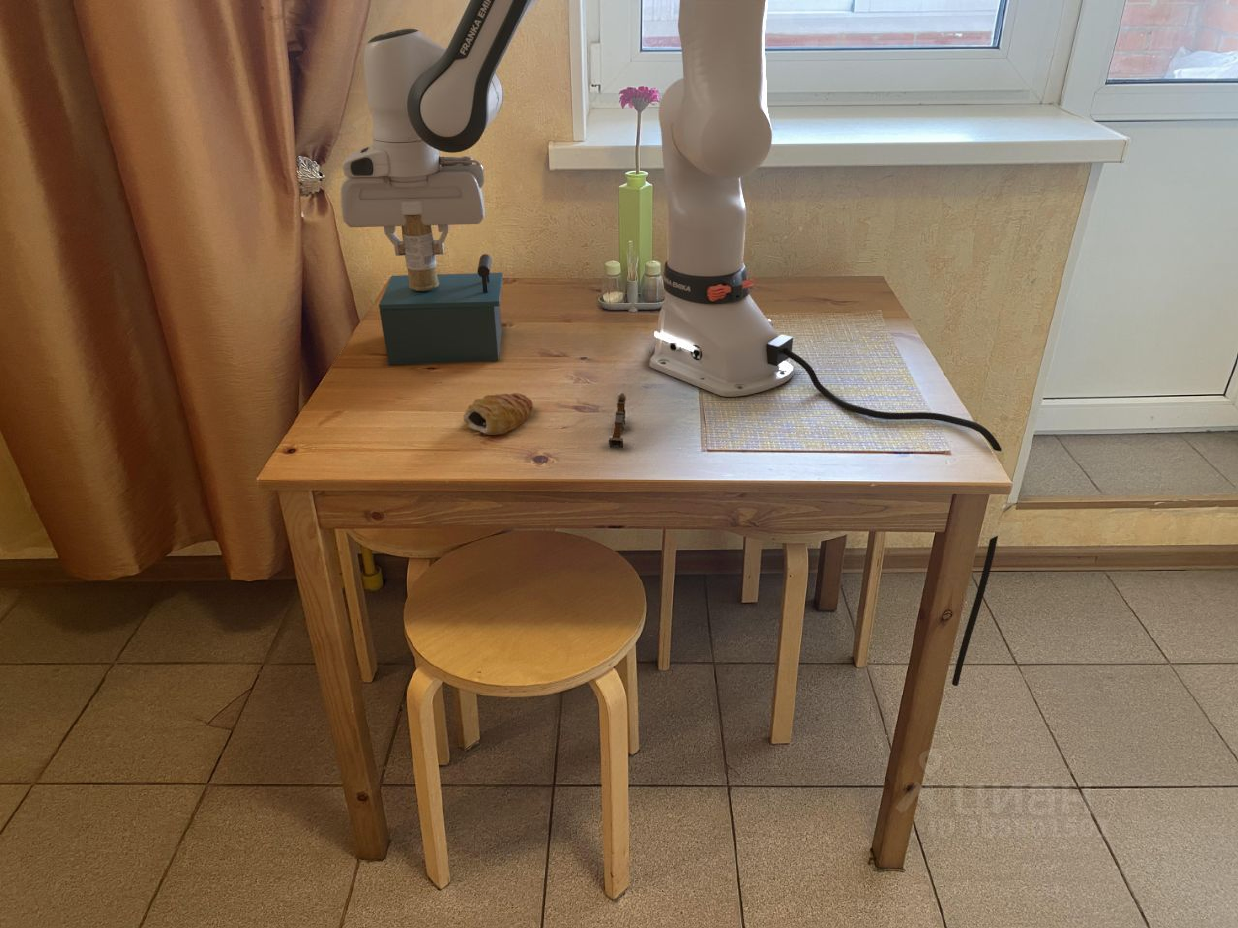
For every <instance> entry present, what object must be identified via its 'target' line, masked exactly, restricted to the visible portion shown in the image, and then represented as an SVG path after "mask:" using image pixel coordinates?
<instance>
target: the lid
mask: <svg viewBox="0 0 1238 928" xmlns="http://www.w3.org/2000/svg"><path fill="white" fill-rule="evenodd" d="M491 267H492V257H491V255H489V254H487V253H484V254H482V255H481V256H480V257H479V260H478V265H477V272H476V273H473V272H472V273H445V274H444V273H441V274H438V273H437V278H438V281H439V286H438V287H436V288H435V289H433V290H428V291H416V290H413V289H411V288H410V287H409V275H408V274H402V275H401V274H400V275H391V276H390V278H389V281H388V282H387V286H386V288H385V290H384V292H383V294H382V297H381V300H380V302H379V304H378V308H379V311H380V310H387V309H422V308H457V307H491V306H500V307H501V296H502V288H503V281H504V280H503V278H504V274H503V272H491Z"/></svg>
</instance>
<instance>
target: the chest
mask: <svg viewBox="0 0 1238 928" xmlns="http://www.w3.org/2000/svg"><path fill="white" fill-rule="evenodd" d="M379 314H380V320H381V327H382V334H383V340H384V346H385V352H386V360H387V365H388V366H399V365H400V366H401V365H402V366H403V365H427V364H429V365H430V364H454V363H455V364H456V363H460V364H461V363H483V362H485V363H487V362H500V361H499V360H500V351H501V343H502V342H501V341H502V333H503V326H502V325H503V324H502V313H501V305H500V306H491V307H457V308H422V309H387V310H380V309H379Z"/></svg>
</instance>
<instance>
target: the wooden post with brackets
mask: <svg viewBox="0 0 1238 928" xmlns="http://www.w3.org/2000/svg"><path fill="white" fill-rule="evenodd" d="M617 396H618V398H617V402H616V406H617V408H616V409H617V410H616V411H615V414H614V416H615V418H614V429H613V434H612V437H609V438H608V447H609V449H614V450H624V438H623V437H622V432H624V431H625V425H626V409H625V407H626V406H625V405H626V400H627V397H626V394H625V393H624V392H621V393H620V394H617Z"/></svg>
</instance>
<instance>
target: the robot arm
mask: <svg viewBox="0 0 1238 928" xmlns="http://www.w3.org/2000/svg"><path fill="white" fill-rule="evenodd" d="M537 2H539V0H469V2H468V5H467V6H466V8H465V10H464V13H463V15H462V17H461V19H460V21H459V23H458V25H457V27H456V29H455V31H454V33H453V36H452V37H451V40H450V42H449V44H448V46H447V47H445V46H443V45H441V44H438V43H437V42H435V41H433V40H431V39H430V38H429V37H427V36H426V35H425V34H424V33H423V32H421V31H420V30H419V29H415V28H402V29H396V30H393V31H389V32H386V33H382V34H378V35H376V36H374V37H372V38H371V39H370V40H368V42H367V43H366V45H365V47H364V51H363V74H364V85H365V93H366V101H367V106H368V109H369V111H370V114H371V116H372V133H371V135H372V145H369V146H366V147H363V148H361V149H358V150H355V151H353V152H351V153H350V154H349V155H348V156H347V157H346V158H345V159H344V160H343V162H342V171H343V174H344V175H345V176H346V177H345V178H344V180H343V181H342V183H341V187H340V207H341V209H340V210H341V216H342V220H343V222H344V223H345V224H346V225H347V226H348V227H349V228H376V227H377V228H378V227H381V228H382V227H383V231H384V236H386V238H387V239H388V240H389V242H390V243H391V244H392V245H393V246H394V247H393V248H394V254H395V255H394V256H396V257H400V256H405V250H404V249H405V248H404V244H403V240H401V239H400V238H399V237H398V236H397V234H396V230H397V227H401V226H405V225H406V218H405V217H404V216H405V215H404V214H402V208H401V203H402V202H405V201H420V202H421V204H422V212H423V213H422V214H420V216H422V217H421V222H422V224H423V225H431V226H437V229H438V232H439V233H441V234H440V237H439V239H433V241H434V242H433V243H432V246H433V249H434V250H433V254H434V255H435V256H436V255H440V256H441V255H444V254H445V240H446V238H447V235H448V234H449V231H450V226H452V225H453V226H454V225H479V224H481V223H482V222H483V220H484V219H485V217H486V205H485V200H484V195H483V189H482V187H483V186H484V184H485V173H484V167H483V165H482V164H481V162H479V161H478V160H476V159H473V157H471V156H461V157H457V156H440V152H444V153H448V154H454V153H462V152H465V151H467V150H468V149H470V148H472V147H474V146H475V145H476V144H477V143H478V141H479V140H480V139H481V138H482V136H483V134H484V132H485V131H486V129H487V128H489V126H490V125H491V124H492V123H493V121H494V120H495V119H496V118H497V116H498V114H499V112H500V110H501V109H502V105H503V102H504V101H503V100H504V92H503V91H504V90H503V87H502V83H501V80H500V78H499V76H498V74H497V70H498V69H499V67H500V65H501V63H502V61H503V59H504V57H505V55H506V53H507V51H508V49H509V47H510V45H511V43H512V42H513V41H512V40H513V39H514V37H515V35H516V33H517V31H518V29H519V27H520V25H521V24H522V22H523V20H524V19H525V17H526V16H527V14H528V13H529V12H530V10H531V9H532V8H533V7H534V6H535V4H537ZM768 2H769V0H679V7H678V18H677V19H678V20H677V30H678V36H679V40H680V48H681V58H682V60H681V61H682V78H680V79H678V80H676V81H674V82H673V83H672V84H670V86H668V87H667V89H666V90H665V91H664V93H663V95H662V96H661V99H660V102H659V106H658V122H659V127H660V132H661V134H660V135H661V150H662V151H661V152H662V162H663V164H662V165H663V175H664V182H665V192H666V199H667V200H666V201H667V251H666V252H667V253H666V254H667V256H666V257H667V258H666V261H665V263H664V264H663V267H664V268H663V272H662V279H663V289H664V291H665V294H664V298H663V302H662V305H661V307H660V310H659V314H658V323H657V329H656V331H654V337H655V347H654V350H653V352H654V353H653V354H652V355H651V357H650V358H649V367H650V369H653V370H656V371H658V372H660V373H663V374H666V375H669V376H671V377H673V378H675V379H678V380H681V381H683V382H685V383H688V384H691V385H693V386H695V387H698V388H700V389H703V390H705V391H707V392H710V393H711V394H715V395H718V396H721V397H725V398H726V397H727V398H729V397H731V398H733V397H743V396H744V397H745V396H750V395H754V394H758V393H761V392H765V391H768V390H771V389H774V388H776V387H779V386H780V385H783V384H785V383H787V382H788V381H789V380H791V379H792V378H793V376H794V375H795V367H794V366H793V365H792V364H790V363H789V362H788V361H786V360H788V359H791V360H793V362H794V363H797V364H798V365H799V366H800V367H801V368H803V370H805V371H806V373H807V375H808V376H809V378H810V380H811V383H812V384H813V386H814V387H815V389H816V390H817V391H818V392H819V393H821V394H822V395H823V396H824V397H825V398H827V399H828V400H830V401H832V402H833V403H835V404H836V405H837V406H839V407H840V408H842V409H844V410H847V411H849V412H853V413H856V414H860V415H864V416H866V417H867V416H868V417H871V418H875V419H882V420H898V421H899V420H932V421H938V422H939V421H940V422H945V423H949V424H952V425H956V426H961V427H965V428H969V429H972V430H973V431H975V432H977V433H979V434H981V436H983V438H985V440H986V441H987V442H988V443H989V445H990V446H991V448H992V450H994V451H995V452H1002V451H1003V449H1002V447H1001V445H1000V443H999V442H998V440H997V439H996V437H995V436H994V435H993V434H992V432H990V431H989V430H988V429H987V428H986V427H984V426H983V425H981V424H980V423H977V422H976V421H974V420H973V421H972V420H969V419H965V418H961V417H956V416H953V415H949V414H944V413H938V412H927V411H914V412H913V411H912V412H890V411H889V412H886V411H880V410H875V409H870V408H867V407H862V406H859V405H855V404H852V403H849V402H846V401H845V400H842V399H840V398H839V397H837V396H836V395H835V394H833V393H832V392H831V391H829V390H828V389H827V388H826V387H825V386H824V385H823V384H822V382H821V381H820V380H819V378H818V376H817V373H816V372H815V370H814V369H813V367H812V366H811V365H810V364H809V363H808V362H807V361H806V360H805V359H803V358H802V357H800V356H799V355H798V354H797V353H795V352H793V343H794V337H793V336H790V335H786V334H780V335H778V334H777V333H778V332H777V331H776V330H775V328H774V323H773V321H772V319H769V318H767V317H766V316H765V315H764V313H763V312H762V310H761V309H760V308H759V306H758V305H757V303H756V302H755V301H754V299H753V297H752V296H751V294H750V293H751V287H755V286H756V285H755V284H754V283H753V282H755V281H756V279H755V278H754V277H753V278H750V279H749V278H748V277H749V276H748V272H747V268H746V265H745V263H744V253H745V239H746V223H747V207H746V203H745V201H744V196H743V190H742V189H743V188H742V182H741V178H744V177H746V176H749V175H750V174H752V173H754V172H756V170H757V169H759V168H760V167H761V166H762V164H763V163H764V162H765V160H766V158H767V157H768V154H769V152H770V150H771V148H772V147H771V146H772V142H773V128H772V125H771V121H770V117H769V113H768V105H767V76H766V75H767V74H766V73H767V72H766V55H765V53H766V51H765V35H766V34H765V32H766V21H767V11H768ZM752 283H753V284H752ZM998 538H999V535H996V536H994V537H992V538H990V539H989V541H988V545H987V546H988V547H987V552H986V556H985V560H984V564H983V568H982V572H981V576H980V580H979V583H978V587H977V590H976V594H975V597H974V601H973V604H972V608H971V610H970V614H969V617H968V621H967V625H966V628H965V631H964V635H963V639H962V642H961V645H960V649H959V652H958V656H957V660H956V664H955V668H954V672H953V675H952V680H951V685H952V686H954V687H958V686H959V683H960V679H961V674H962V670H963V667H964V663H965V659H966V656H967V652H968V648H969V644H970V642H971V637H972V636H973V635H972V634H973V631H974V628H975V625H976V621H977V618H978V614H979V612H980V608H981V604H982V601H983V598H984V596H985V591H986V588H987V584H988V581H989V577H990V573H991V569H992V567H993V566H992V565H993V562H994V557H995V552H996V549H997V548H996V547H997V544H998Z"/></svg>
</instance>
